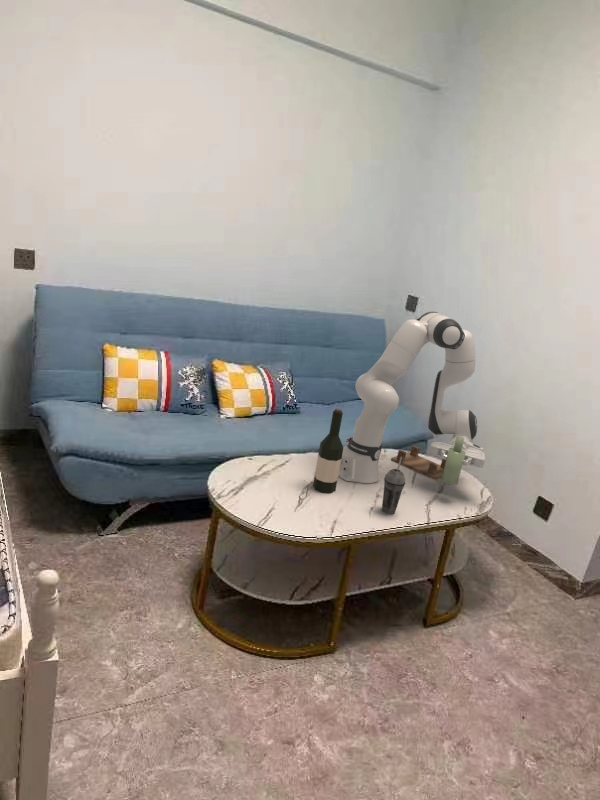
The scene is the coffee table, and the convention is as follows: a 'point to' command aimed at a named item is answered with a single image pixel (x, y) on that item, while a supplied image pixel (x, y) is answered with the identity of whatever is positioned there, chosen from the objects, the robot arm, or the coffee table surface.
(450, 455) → the olive glass bottle
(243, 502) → the coffee table surface
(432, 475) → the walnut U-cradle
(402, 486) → the beverage cup
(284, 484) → the coffee table surface
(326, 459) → the wine bottle
